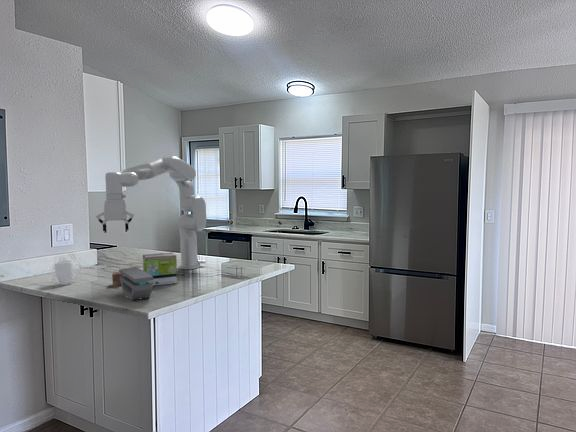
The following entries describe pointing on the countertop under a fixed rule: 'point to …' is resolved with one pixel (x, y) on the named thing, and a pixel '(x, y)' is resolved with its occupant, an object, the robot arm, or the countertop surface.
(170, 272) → the tea box
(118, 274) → the walnut block
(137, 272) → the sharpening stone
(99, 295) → the countertop surface
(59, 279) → the mug
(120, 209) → the robot arm
